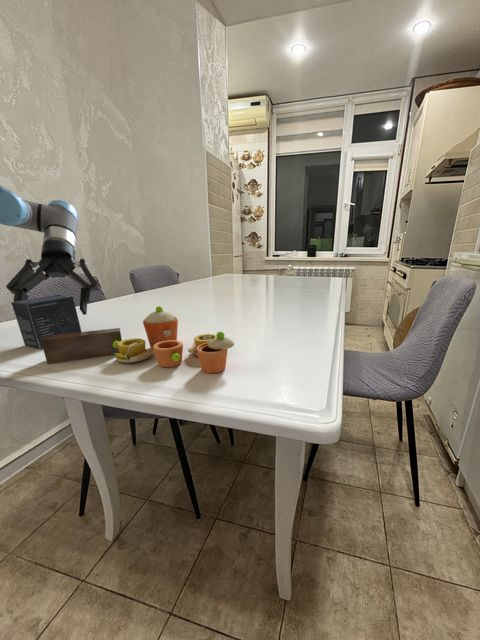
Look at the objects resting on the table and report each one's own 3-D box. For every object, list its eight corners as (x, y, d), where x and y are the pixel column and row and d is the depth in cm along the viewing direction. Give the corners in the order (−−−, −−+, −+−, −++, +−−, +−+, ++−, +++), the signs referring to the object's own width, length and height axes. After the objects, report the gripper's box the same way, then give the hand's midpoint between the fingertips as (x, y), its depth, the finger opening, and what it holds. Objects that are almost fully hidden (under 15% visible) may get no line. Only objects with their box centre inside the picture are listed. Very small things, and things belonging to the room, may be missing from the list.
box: (67, 333, 77) (58, 294, 74) (83, 336, 75) (75, 296, 71) (22, 345, 68) (9, 301, 65) (39, 349, 66) (26, 303, 62)
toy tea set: (103, 363, 58) (94, 316, 55) (152, 340, 72) (147, 301, 69) (221, 380, 51) (219, 327, 48) (251, 351, 65) (250, 308, 62)
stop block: (47, 364, 58) (40, 340, 56) (49, 358, 60) (43, 336, 59) (124, 353, 64) (120, 331, 62) (123, 348, 66) (119, 327, 65)
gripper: (112, 257, 87) (111, 318, 79) (13, 258, 80) (1, 324, 72) (105, 238, 80) (103, 302, 72) (-3, 237, 74) (-19, 307, 65)
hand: (52, 313), depth 72 cm, fingers open, 13 cm apart
